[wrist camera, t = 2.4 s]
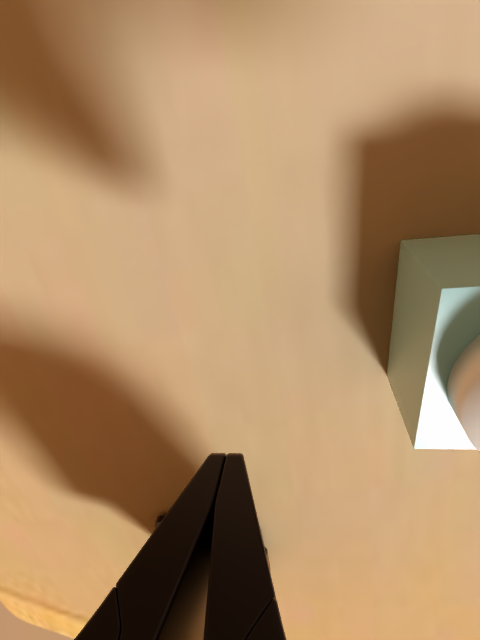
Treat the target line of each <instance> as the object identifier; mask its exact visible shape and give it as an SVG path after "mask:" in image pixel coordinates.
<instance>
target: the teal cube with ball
mask: <svg viewBox="0 0 480 640" xmlns="http://www.w3.org/2000/svg"><path fill="white" fill-rule="evenodd" d="M387 377H388V380H389V382H390V385H391V388H392V391H393V393H394V396H395V399H396V401H397V404H398V407H399V410H400V412H401V415H402V418H403V420H404V423H405V426H406V428H407V431H408V434H409V437H410V439H411V442H412V445H413V447H414V449H477V450H478V451H479V452H480V234H471V235H459V236H446V237H434V238H422V239H410V240H401V243H400V253H399V262H398V272H397V282H396V292H395V301H394V311H393V321H392V331H391V341H390V350H389V360H388V370H387Z"/></svg>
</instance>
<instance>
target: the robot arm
mask: <svg viewBox="0 0 480 640" xmlns="http://www.w3.org/2000/svg"><path fill="white" fill-rule="evenodd" d="M155 527H156V529H155V531H154V532H153V533H152V535H151V536H150V538H149V539H148V540H147V542H146V543H145V545H144V546H143V547H142V549H141V550H140V551H139V553H138V554H137V556H136V557H135V558H134V560H133V561H132V563H131V564H130V565H129V567H128V568H127V569H126V571H125V572H124V574H123V575H122V576H121V578H120V579H119V581H118V582H117V583H116V587H114V588H112V590H111V591H110V593H109V594H108V595H107V597H106V598H105V600H104V601H103V602H102V604H101V605H100V607H99V608H98V609H97V611H96V612H95V613H94V615H93V616H92V617H91V618H90V620H89V621H88V622H87V624H86V625H85V626H84V628H83V629H82V630H81V632H80V633H79V634H78V635H77V637H76V638H75V639H74V640H286V637H285V633H284V629H283V625H282V621H281V617H280V612H279V608H278V604H277V601H276V596H275V591H274V587H273V583H272V578H271V574H270V564H269V558H268V552H267V549H266V547H265V546H264V544H263V539H262V535H261V531H260V526H259V522H258V517H257V513H256V509H255V504H254V500H253V496H252V491H251V487H250V483H249V478H248V474H247V470H246V465H245V461H244V457H243V454H241V453H229V454H227V455H226V454H225V453H212V454H210V455H209V456H208V457H207V459H206V460H205V461H204V463H203V464H202V466H201V467H200V468H199V470H198V471H197V473H196V474H195V475H194V477H193V478H192V479H191V481H190V482H189V484H188V485H187V486H186V488H185V489H184V491H183V492H182V493H181V495H180V496H179V497H178V499H177V500H176V502H175V503H174V504H173V506H172V507H171V509H170V510H169V511H168V513H167V514H166V515H165V516H159V517H157V520H156V523H155Z"/></svg>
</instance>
